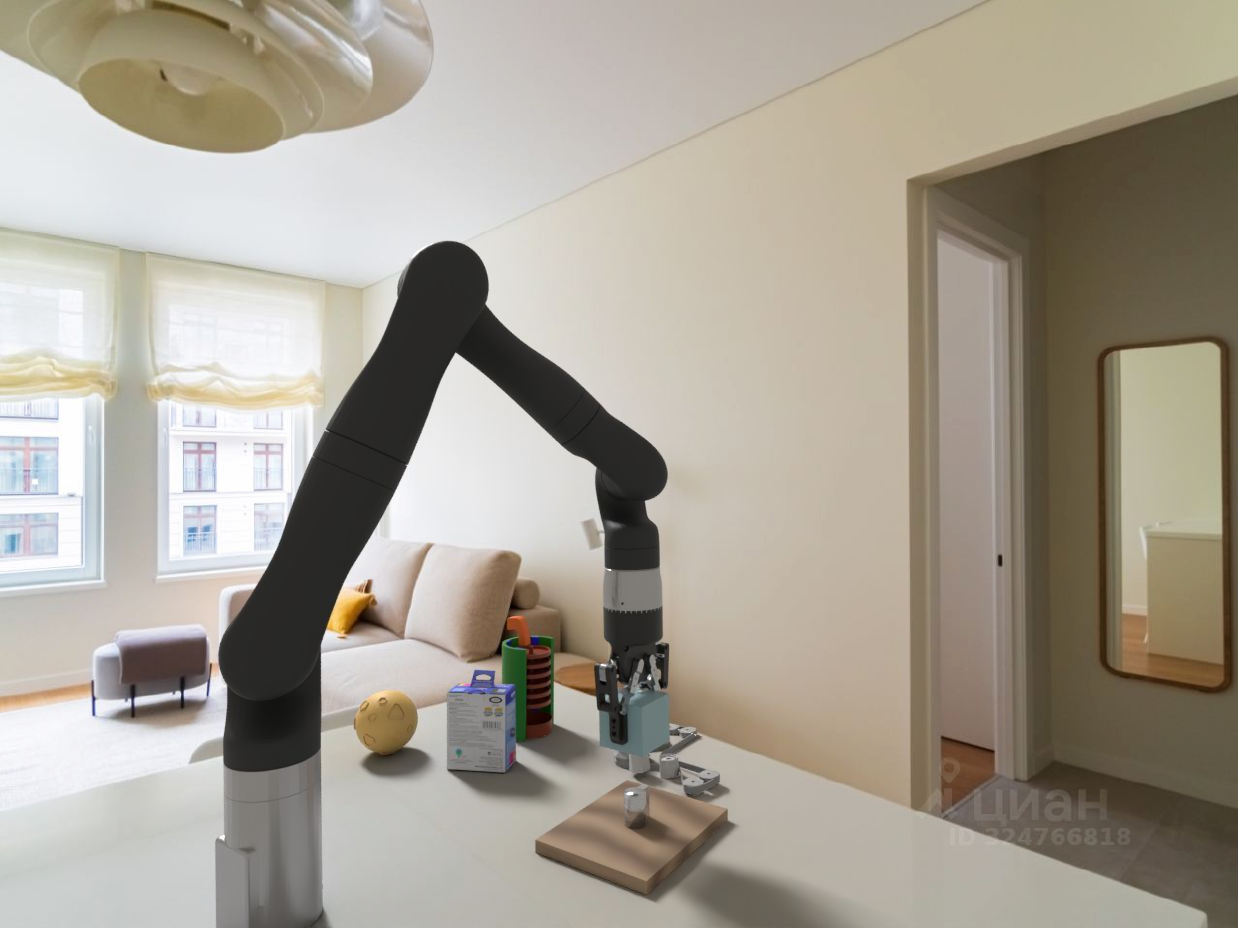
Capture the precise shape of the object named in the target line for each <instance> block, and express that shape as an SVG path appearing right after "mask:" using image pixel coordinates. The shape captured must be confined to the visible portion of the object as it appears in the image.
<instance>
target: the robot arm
mask: <svg viewBox="0 0 1238 928" xmlns="http://www.w3.org/2000/svg"><path fill="white" fill-rule="evenodd" d="M486 268H487V267H486V266H485V264H484V261H483V260H482V258H481V257H480V255H479V254H478V253H477V252H476V251H475V250H474V249H473V248H472V247H470V246H468V244H464V243H462V242H459V241H455V240H440V241H436V242H435V241H434V242H431V244H427V245H424V246H423V247H422V248H420V249H418V250H417V251H416V252H415V253H414V254H413V255H412V256H411V257H410V258H409V260H408V261H407V263H406V265H405V267H404V269H403V270H402V272H401V274H400V276H399V279H398V282H397V286H396V287H397V291H396V292H397V293H396V295H397V299H396V302H395V304H394V307H393V309H392V312H391V314H390V317H389V320H388V323H387V324H386V328H385V330H384V332H383V335H382V337H381V338H380V341H379V343H378V345H377V346H376V348H375V350H374V352H373V353H372V355H371V357H369V359H368V361H367V363H365V365H364V367H363V368H362V369H361V371H360V372H359V374H358V375H357V376H356V378H355V380H354V381H353V382H352V384H351V385H350V387H349V389H348V390H347V392H346V393H345V395H344V396H343V398H342V399H341V401H340V402H339V404H338V406H337V407H336V409H335V410H334V412H333V414H332V416H331V418H330V419H329V421H328V424H327V425H326V427H325V430H324V431H323V432H322V435H321V437H320V439H319V441H318V443H317V445H316V447H315V449H314V451H313V453H312V456H311V458H310V460H309V462H308V464H307V466H306V469H305V472H304V474H303V476H302V479H301V481H300V482H299V483H300V484H299V486H298V488H297V491H296V494H295V496H294V499H293V502H292V504H291V507H290V510H289V513H288V516H287V519H286V522H285V525H284V528H283V530H282V534H281V537H280V539H279V542H278V544H277V547H276V549H275V551H274V553H273V556H272V557H271V559H270V561H269V563H268V565H267V567H266V569H265V570H264V572H263V573H262V576H261V577H260V579H259V580H258V582H257V583H256V585H255V587H254V589H253V590H252V592H251V594H250V596H249V597H248V599H247V600H246V601H245V603H244V605H243V607H242V608H241V610H240V611H239V612H238V613H237V614H236V615H235V617H234V618H233V619H232V620H231V622H230V623H229V625H228V626H227V628H226V630H225V631H224V632H223V635H222V637H221V640H220V643H219V647H218V652H217V657H218V658H217V660H218V667H219V671H220V675H221V677H222V679H223V681H224V682H225V684H226V713H225V722H224V729H223V738H222V758H223V759H222V761H223V762H222V763H223V834H221V835H219V836H218V837H216V838H215V841H214V851H215V852H214V853H215V855H214V858H215V859H214V860H215V862H214V863H215V869H214V870H215V871H214V872H215V875H214V876H215V928H310V927H311V926H312V925H313V924H314V923H315V922H316V921H317V920H318V919H319V917H320V916H321V915H322V911H323V907H324V906H323V904H324V903H323V899H324V898H323V893H324V892H323V889H324V883H323V824H322V823H323V819H322V818H323V813H322V810H323V809H322V808H323V807H322V806H323V803H322V710H323V709H322V643H323V641H324V640H323V639H324V637H325V634H326V631H327V628H328V625H329V622H330V620H331V616H332V615H333V611H334V608H335V606H336V603H337V601H338V599H339V595H340V593H341V591H342V588H343V586H344V583H345V581H346V580H347V577H348V575H349V573H350V571H351V570H352V568H353V566H354V565H355V563H356V561H357V560H358V558H359V557H360V555H361V554H362V552H363V550H364V549H365V547H366V545H367V544H368V542H369V540H370V539H371V537H372V535H373V534H374V532H375V530H376V529H377V527H378V525H379V523H380V521H381V519H382V518H383V516H384V514H385V512H386V510H387V509H388V507H389V505H390V502H391V501H392V499H393V497H394V495H395V494H396V491H397V489H398V487H399V486H400V482H401V481H402V478H403V476H404V474H405V472H406V470H407V468H408V465H409V464H410V461H411V459H412V457H413V454H414V451H415V450H416V446H417V444H418V443H419V441H420V438H421V437H420V436H422V432H423V429H424V427H425V425H426V422H427V419H428V418H429V414H430V412H431V408H432V406H433V404H434V400H435V399H436V398H435V397H436V394H437V391H438V389H439V387H440V383H441V381H442V379H443V377H444V375H445V373H446V371H447V369H448V367H449V365H450V363H451V362H452V360H453V358H454V357H455V354H456V355H458V356H460V357H461V358H462V359H464V360H465V361H466V362H468V363H469V364H470V365H472V366H473V367H474V368H475V369H477V370H478V371H479V372H481V373H482V374H483V375H484V376H485V377H487V378H488V379H489V380H490V381H491V382H492V383H494V384H495V385H496V386H497V387H499V389H500V390H502V392H504V393H505V394H506V395H507V396H508V397H509V398H510V399H511V400H513V401H514V403H516V404H517V405H518V406H519V407H520V408H521V409H522V410H523V411H524V412H525V413H526V414H528V416H529V417H530V418H532V420H533V421H535V423H537V424H538V425H539V426H540V428H542V429H543V430H544V431H545V432H546V433H548V435H549V436H551V438H553V439H554V440H555V441H556V442H557V443H558V444H559V445H560V446H561V447H562V448H563V449H565V450H566V451H567V452H569V453H570V454H571V455H573V456H575V457H579V458H582V459H584V460H586V461H588V462H589V463H591V464H592V466H594V467H595V474H594V485H595V486H594V487H595V495H596V499H597V505H598V510H599V516H600V520H601V523H602V528H603V531H604V541H603V543H604V545H603V546H604V549H603V550H604V553H603V554H604V555H603V556H604V575H603V582H602V584H603V585H602V598H603V599H602V603H603V605H602V606H603V607H602V608H603V614H602V615H603V638H604V640H605V641H606V642H607V643H608V644H609V645H610V647H611V650H610V655H609V658H608V661H607V660H606V661H605V662H604V663H603V662H598V661H597V662H596V663H595V664H594V666H593V672H594V685H595V698H596V707H597V710H598V712H599V711H603V712H607V713H609V727H610V728H609V734H610V740H611V742H612V743H615V744H619V745H624V744H626V743H627V742H628V717H627V714H626V713H627V710H628V704H629V702H630V698H631V697H633V696H634V695H635V692H636V688H637V687H639V688H648V689H650V690H653V691H661V692H662V690H663V689H665V690H667V688H668V686H669V671H670V670H669V669H670V668H669V665H670V663H669V661H670V644H669V642H663V641H662V639H663V636H664V626H663V625H664V619H663V618H664V617H663V616H664V615H663V612H664V610H663V608H664V606H663V579H662V575H661V567H660V566H661V557H660V556H661V554H660V553H661V552H660V551H661V550H660V549H661V547H660V544H661V543H660V534H659V528H658V526H657V525H656V523H654V522H653V521H652V520H651V519H650V518H649V516H648V511H647V506H646V501H650V500H653V499H655V498H656V497H658V496H659V495H660V494H661V493H662V492H663V491H664V489H665V488H666V486H667V482H668V478H669V477H668V475H669V473H668V468H667V467H668V466H667V464H666V461H665V459H664V457H663V455H662V454H661V453H660V451H659V450H658V449H657V448H656V447H655V446H654V445H653V444H652V443H651V442H650V441H649V440H647V439H646V438H645V437H644V436H642V435H641V434H639V433H638V432H637V431H635V430H634V429H632V428H631V426H629V425H627V424H625V423H624V422H623V421H621V420H619V419H618V418H617V417H615V416H614V415H612V414H611V413H609V411H608V410H607V409H606V408H605V407H604V406H603V405H602V404H601V403H600V402H599V401H598V400H597V399H596V398H595V397H594V396H593V395H592V394H591V393H590V392H589V391H588V390H587V389H586V388H585V387H584V386H583V385H582V384H580V382H579V381H577V379H575V378H574V377H573V376H572V375H570V374H569V373H568V372H567V371H565V370H564V368H562V367H561V366H559V365H558V364H556V363H555V362H553V360H550V359H549V358H547V357H546V356H544V355H543V354H542V353H540V352H538V351H537V350H535V349H534V348H533V347H531V346H529V345H528V344H527V343H526V342H524V341H523V340H521V339H520V338H519V337H518V336H517V335H516V334H514V333H513V332H512V331H510V330H509V328H508V327H506V325H504V324H503V323H502V322H501V321H500V320H499V318H498V317H497V316H496V315H495V314H494V313H493V312H492V310H491V309H490V308H489V307H488V305H487V304H486V303H487V301H488V297H489V291H490V283H489V275H488V272H487V269H486ZM659 671H660V674H659ZM618 682H619V684H620V685H624V686H627V685H628V686H627V687H624V686H618ZM618 694H622V699H621V703H620V704H619V699H618ZM605 695H609V696H608V700H607V701H606V700H605Z"/></svg>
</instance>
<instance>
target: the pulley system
mask: <svg viewBox="0 0 1238 928" xmlns="http://www.w3.org/2000/svg"><path fill="white" fill-rule="evenodd" d="M669 724H670V725H672V726H675V727H676V728H675V727H672V726H670V735H676V734H678V735H679V738H681V737H682V738H681V740H679V741H678V742H677V743H675V744H673V745H672V746H671V741H670V740H669V741H667V742H666V743H664V744H663V745H661V746H660V747H658V748H656V749H655V750H653V751H652V752H656V751H663V752H661V753H660V755H659V756H658V762H659V763H650V757H651V754H650V753H649V754H647V755H645V756H644V757H640V756H636V755H632V754H628V753H624V752H621V751H617V750H613V752H612V753H613V756H614V757H613V761H614V762H615V765H616V766H617V767H620V768H623V767H624V769H628V770H629V771H630V772H631V773H633V774H636V773H637V774H639V773H640V774H641V773H645V772H647V771H659V777H660V779H665V780H668V779H675V778H677V777H679V776H680V780H681V785H682V790H683V792H684V793H685V794H689V795H691V796H693V797H694V796H698V795H701V793H703V792H705V791H706V790H709V789H710V788H713V787H714V786H717V785H719V783H720V781H721V774H720V773H719V772H718V770H716V769H708V768H705V767H701V766H698V765H694V764H691V763H688V762H684V761H681V760H679V754H676V753H674V752H675V751H677V750H678V749H680V748H681V747H683V746H685V745H686V744H688V743H689V742H690V741H692V740H695V739H696V738H697V737H698V731H697V730H698V729H697V727H693V726H682V725H678V724H674V723H669ZM678 729H679V730H678ZM681 730H684V731H687V732H684V731H681ZM688 732H691V733H693V734H691V733H688ZM694 734H697V736H695V735H694ZM695 737H696V738H695ZM681 769H685V770H688V771H690V772H694V773H698V775H697V776H698V778H697V777H696V778H695V777H691V776H690V777H688V778H685V779H683V778H684V777H683V774H682V771H681Z"/></svg>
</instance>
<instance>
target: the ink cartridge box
mask: <svg viewBox="0 0 1238 928" xmlns="http://www.w3.org/2000/svg"><path fill="white" fill-rule="evenodd" d="M483 675H485V676H488V677H490V679H477V677H478V676H479V677H480V676H483ZM495 675H496V670H489V669H488V670H487V669H473V674H472V678H471V682H470V683H458V684H456V685H454V686H453V687H452V688H451V689H449V691H447V692H446V769H447V770H455V771H457V770H459V771H473V772H474V771H475V772H491V773H506V772H507V771H508V770H509V769H510V768H511V767H512V766H513V765H514V764H515V762H516V761H517V741H516V694H515V685H513V684H502V683H495V679H496V678H495V677H496V676H495Z"/></svg>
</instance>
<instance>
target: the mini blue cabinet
mask: <svg viewBox="0 0 1238 928" xmlns="http://www.w3.org/2000/svg"><path fill="white" fill-rule="evenodd" d="M627 686H628V685H624V686H623V687H627ZM608 696H609V695H607V694H605V700H606V701H607V700H608ZM618 699H619V704H620V703H621V699H622V694H618ZM598 712H599V713H598V715H599V717H598V718H599V723H598V724H599V729H598V730H599V747H602V748H605V749H610V750H613V751H614V750H617V751H621V752H624V753H628V754H632V755H636V756H640V757H644V756H645V755H647V754H650V753H651V752H652V753H653V752H654V751H653V750H655V749H656V748H658V747H660V746H661V745H663V744H664V743H666V742H667V741H670V740H671V737H670V735H671V734H670V724H671V723H670V693H669V692H665V691H662V690H661V691H653V690H650V689H648V688H639V686H637V688H636V692H635V695H634V696H633V697H631V698H630V702H629V704H628V710H627V713H626V714H627V717H628V742H627V743H626V744H624V745H619V744H615V743H612V742H611V740H610V734H609V728H610V727H609V713H607V712H603V711H599V710H598Z"/></svg>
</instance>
